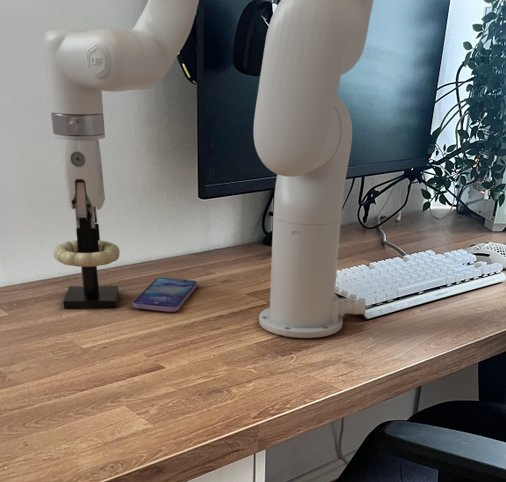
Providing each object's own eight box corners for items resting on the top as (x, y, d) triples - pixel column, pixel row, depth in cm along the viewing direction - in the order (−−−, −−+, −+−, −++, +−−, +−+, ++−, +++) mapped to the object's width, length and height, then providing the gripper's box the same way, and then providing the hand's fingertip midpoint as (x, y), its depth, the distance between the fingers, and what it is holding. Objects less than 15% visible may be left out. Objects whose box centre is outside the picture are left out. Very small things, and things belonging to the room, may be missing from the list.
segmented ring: (120, 250, 113) (119, 238, 112) (119, 268, 105) (118, 254, 104) (58, 250, 112) (56, 238, 111) (51, 268, 104) (50, 255, 103)
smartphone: (198, 280, 119) (176, 308, 107) (198, 286, 120) (176, 313, 107) (157, 276, 120) (130, 303, 107) (157, 282, 121) (130, 309, 108)
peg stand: (118, 292, 116) (115, 249, 112) (115, 308, 109) (112, 262, 105) (69, 293, 115) (64, 249, 111) (64, 308, 108) (58, 262, 104)
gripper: (100, 133, 96) (110, 264, 105) (107, 122, 110) (115, 239, 119) (45, 132, 95) (60, 265, 104) (59, 121, 109) (71, 239, 118)
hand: (89, 250), depth 112 cm, fingers closed on segmented ring, 2 cm apart
